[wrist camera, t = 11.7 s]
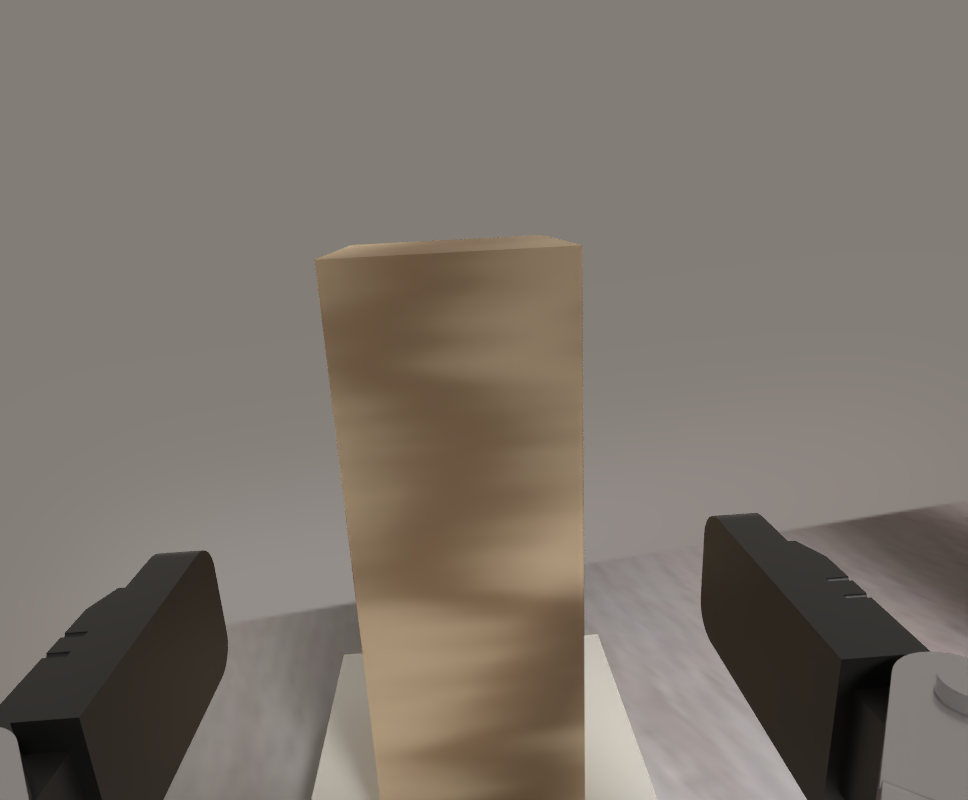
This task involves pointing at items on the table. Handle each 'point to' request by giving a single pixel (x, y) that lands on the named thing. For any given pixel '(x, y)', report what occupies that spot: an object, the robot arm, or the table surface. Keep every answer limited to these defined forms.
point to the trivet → (608, 738)
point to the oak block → (464, 508)
